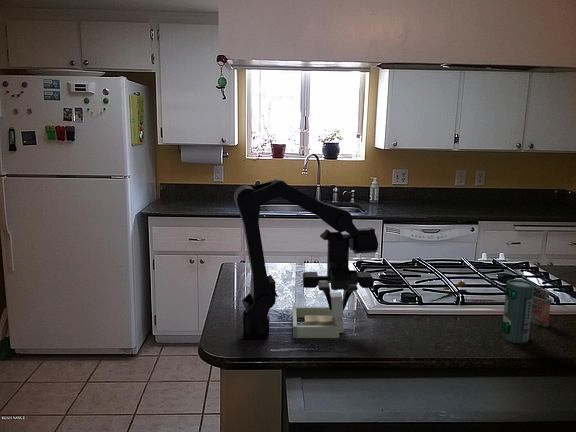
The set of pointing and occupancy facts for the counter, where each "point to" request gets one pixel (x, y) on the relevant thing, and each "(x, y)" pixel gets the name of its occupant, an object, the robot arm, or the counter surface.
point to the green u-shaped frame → (313, 330)
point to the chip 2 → (327, 321)
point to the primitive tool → (457, 285)
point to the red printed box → (540, 307)
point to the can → (517, 311)
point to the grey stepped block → (337, 310)
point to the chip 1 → (312, 320)
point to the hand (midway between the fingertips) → (336, 309)
